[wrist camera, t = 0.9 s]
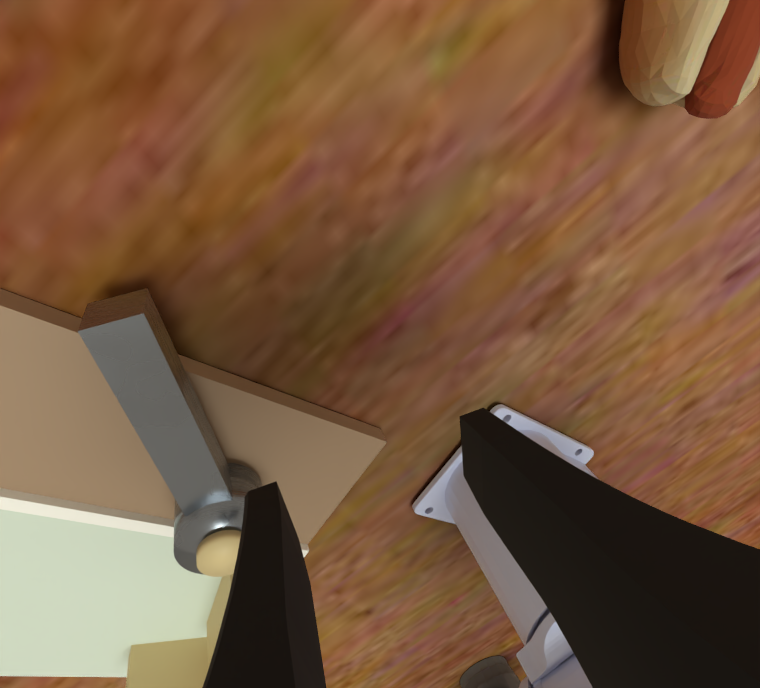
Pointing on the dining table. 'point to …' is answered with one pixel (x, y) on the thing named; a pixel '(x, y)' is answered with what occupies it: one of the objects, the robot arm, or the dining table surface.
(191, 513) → the latch bar
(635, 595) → the robot arm
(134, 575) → the board
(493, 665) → the beverage cup
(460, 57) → the dining table surface
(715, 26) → the food
